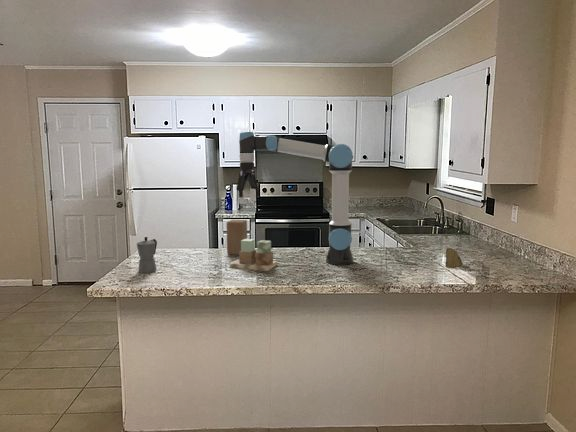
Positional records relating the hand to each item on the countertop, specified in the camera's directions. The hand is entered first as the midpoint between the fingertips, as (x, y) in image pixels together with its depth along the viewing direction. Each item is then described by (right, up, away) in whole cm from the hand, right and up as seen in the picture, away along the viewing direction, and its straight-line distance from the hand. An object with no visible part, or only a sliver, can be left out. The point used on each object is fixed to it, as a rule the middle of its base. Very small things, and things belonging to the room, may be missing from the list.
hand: (247, 202), depth 236 cm
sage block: (0, -26, +4) cm, 27 cm away
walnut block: (0, -32, +5) cm, 33 cm away
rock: (+110, -35, +3) cm, 116 cm away
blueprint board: (+3, -34, +4) cm, 35 cm away
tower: (+9, -33, +1) cm, 34 cm away
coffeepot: (-51, -36, -5) cm, 63 cm away
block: (-9, -30, +34) cm, 46 cm away
